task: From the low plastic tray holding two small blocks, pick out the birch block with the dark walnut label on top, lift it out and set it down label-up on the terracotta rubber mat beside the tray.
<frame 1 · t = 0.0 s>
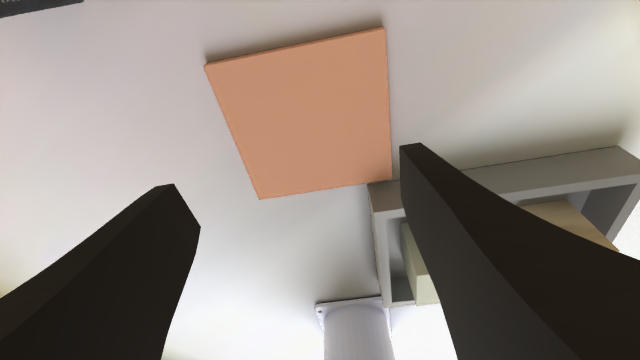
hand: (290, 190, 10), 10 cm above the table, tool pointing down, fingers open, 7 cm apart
plain block: (424, 236, 26), resting on tray
tray: (476, 225, 25), on the table
label block: (534, 221, 25), resting on tray
mat: (310, 125, 19), on the table
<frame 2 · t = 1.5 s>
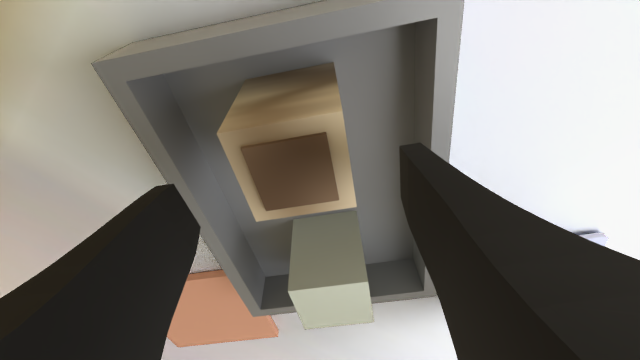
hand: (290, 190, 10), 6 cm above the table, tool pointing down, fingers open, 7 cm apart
plain block: (329, 236, 20), resting on tray
tray: (316, 179, 17), on the table
label block: (299, 112, 14), resting on tray
mat: (207, 308, 26), on the table
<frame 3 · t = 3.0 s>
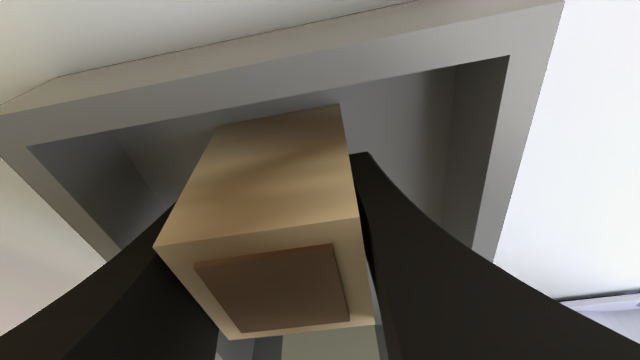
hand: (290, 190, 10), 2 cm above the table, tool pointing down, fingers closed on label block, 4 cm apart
plain block: (332, 298, 16), resting on tray
tray: (316, 238, 14), on the table
label block: (292, 165, 11), resting on tray, touching gripper
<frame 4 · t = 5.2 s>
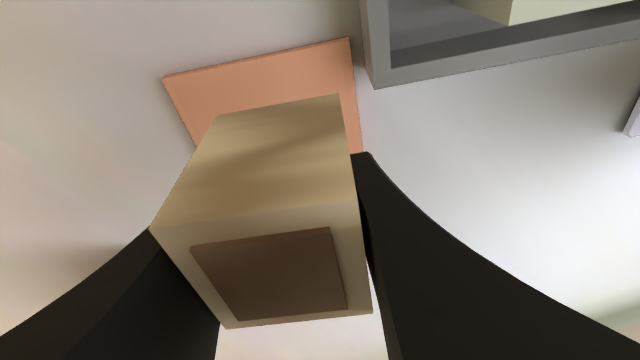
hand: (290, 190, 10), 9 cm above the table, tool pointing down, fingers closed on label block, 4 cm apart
label block: (291, 156, 11), point 7 cm above the table, touching gripper
mat: (279, 138, 19), on the table
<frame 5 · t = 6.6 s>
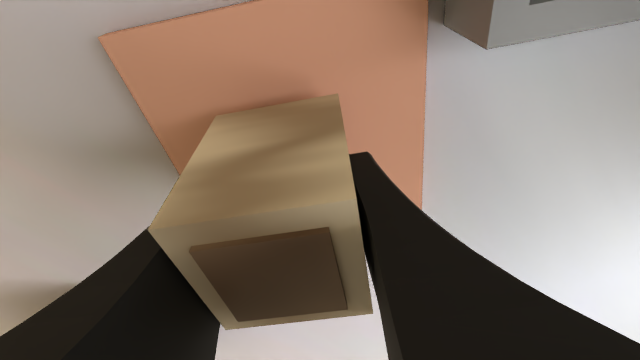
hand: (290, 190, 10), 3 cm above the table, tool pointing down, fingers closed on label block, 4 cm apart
label block: (290, 156, 11), point 2 cm above the table, touching gripper
mat: (295, 139, 12), on the table
when the fingers open (3 cm above the table, at t = 7.5 s): label block stays where it is, resting on mat.
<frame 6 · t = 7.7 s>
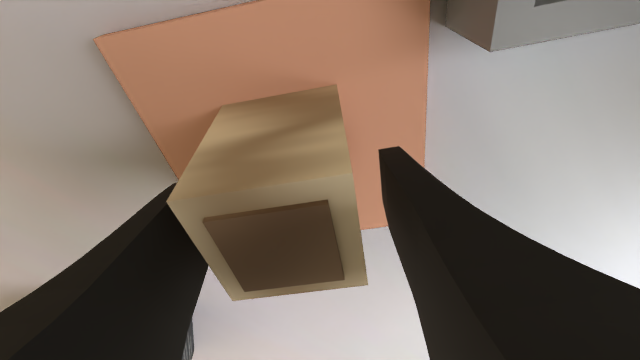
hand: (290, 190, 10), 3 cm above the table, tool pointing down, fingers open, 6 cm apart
label block: (292, 144, 11), point 1 cm above the table, touching mat
mat: (294, 142, 12), on the table
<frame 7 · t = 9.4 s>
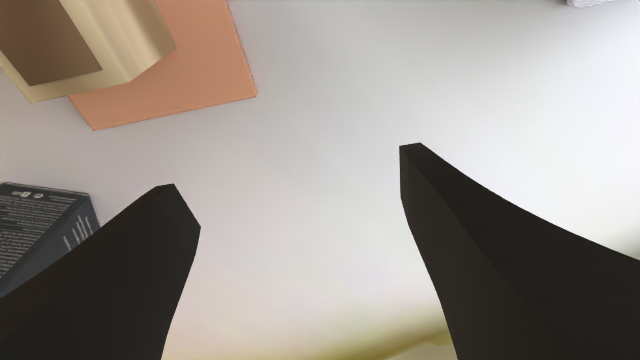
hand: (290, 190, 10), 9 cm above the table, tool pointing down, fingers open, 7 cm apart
label block: (116, 11, 14), point 1 cm above the table, touching mat
box: (65, 223, 23), on the table
mat: (125, 15, 14), on the table
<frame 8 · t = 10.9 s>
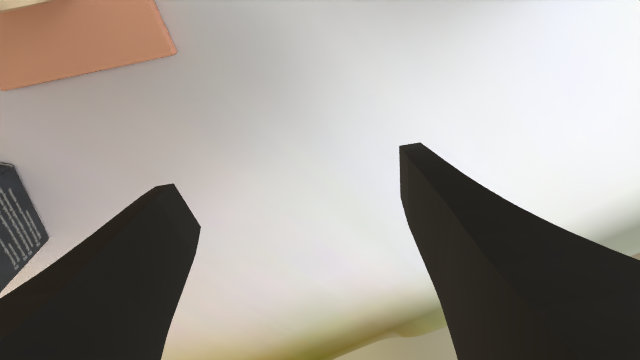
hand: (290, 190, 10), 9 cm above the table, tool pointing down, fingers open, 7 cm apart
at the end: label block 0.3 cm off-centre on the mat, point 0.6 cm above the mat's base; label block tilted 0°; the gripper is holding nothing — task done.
